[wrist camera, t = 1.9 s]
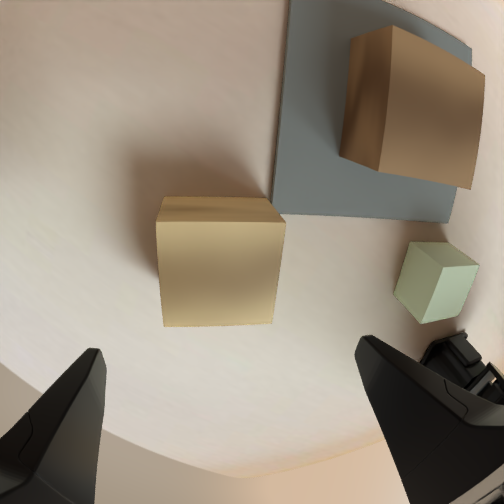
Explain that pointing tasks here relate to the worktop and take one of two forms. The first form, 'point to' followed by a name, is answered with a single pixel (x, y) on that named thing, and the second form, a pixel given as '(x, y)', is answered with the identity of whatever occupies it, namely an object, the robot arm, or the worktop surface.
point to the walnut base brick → (412, 108)
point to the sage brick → (435, 280)
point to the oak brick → (218, 260)
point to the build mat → (332, 116)
